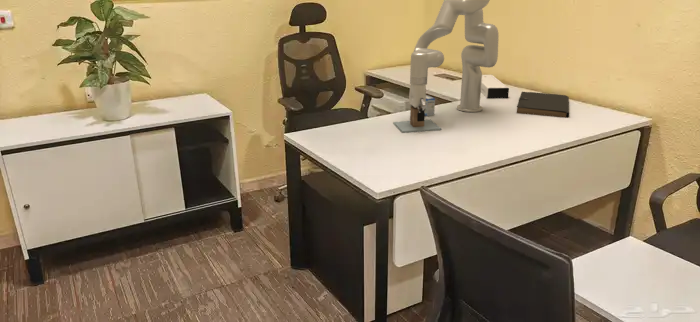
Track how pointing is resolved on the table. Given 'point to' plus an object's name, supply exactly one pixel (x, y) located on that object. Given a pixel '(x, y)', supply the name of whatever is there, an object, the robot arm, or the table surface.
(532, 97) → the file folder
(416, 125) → the walnut block
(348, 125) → the table surface
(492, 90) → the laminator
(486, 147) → the table surface
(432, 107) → the medicine box
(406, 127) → the slate board
